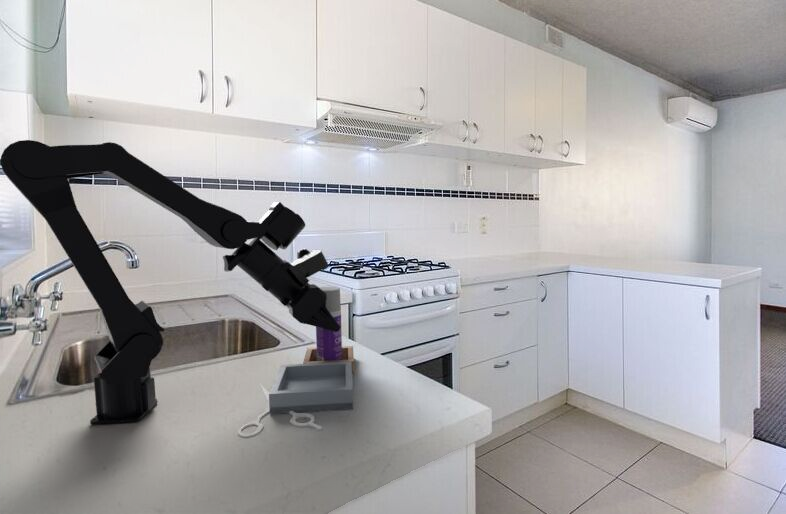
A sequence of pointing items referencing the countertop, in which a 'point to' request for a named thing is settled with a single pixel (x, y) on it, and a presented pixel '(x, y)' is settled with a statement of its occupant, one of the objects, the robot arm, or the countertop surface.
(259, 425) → the scissors
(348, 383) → the tray
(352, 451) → the countertop surface
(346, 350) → the holder
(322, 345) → the container
